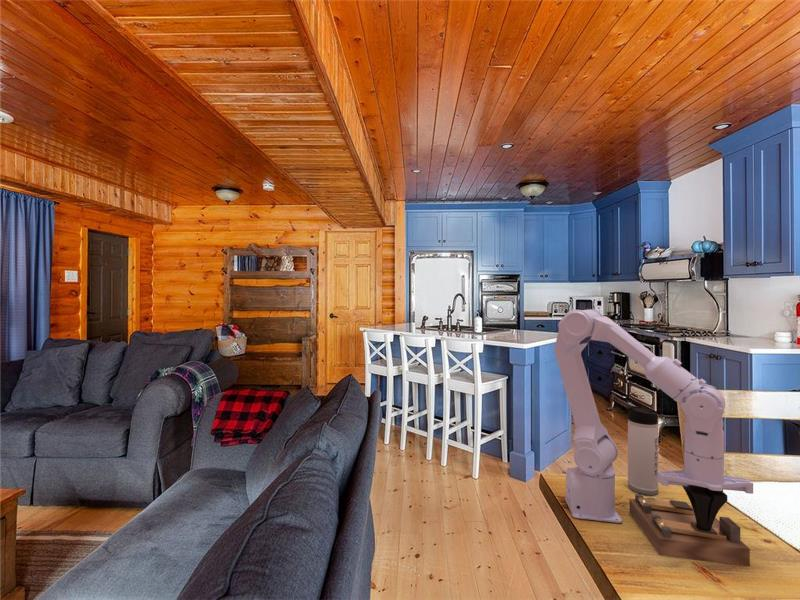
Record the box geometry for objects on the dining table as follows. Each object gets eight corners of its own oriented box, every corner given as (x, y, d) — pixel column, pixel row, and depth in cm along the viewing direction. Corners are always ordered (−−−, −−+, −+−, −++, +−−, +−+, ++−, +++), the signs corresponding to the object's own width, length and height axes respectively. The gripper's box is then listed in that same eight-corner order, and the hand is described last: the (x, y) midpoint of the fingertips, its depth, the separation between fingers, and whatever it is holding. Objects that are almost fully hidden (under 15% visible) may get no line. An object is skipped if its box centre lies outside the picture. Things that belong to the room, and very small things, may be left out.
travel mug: (622, 481, 96) (622, 403, 97) (651, 484, 95) (651, 404, 95) (632, 494, 90) (632, 410, 90) (663, 497, 89) (663, 411, 89)
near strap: (660, 530, 70) (661, 523, 70) (654, 522, 73) (654, 515, 73) (726, 541, 68) (727, 534, 68) (717, 533, 71) (718, 526, 71)
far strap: (642, 507, 78) (643, 501, 78) (637, 501, 81) (637, 494, 81) (700, 517, 76) (701, 510, 76) (693, 509, 78) (694, 503, 78)
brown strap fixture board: (659, 555, 69) (659, 522, 69) (629, 512, 82) (629, 486, 82) (749, 566, 66) (749, 532, 66) (703, 520, 80) (703, 492, 80)
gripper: (670, 458, 68) (670, 534, 67) (766, 465, 65) (766, 545, 65) (652, 443, 74) (652, 513, 74) (738, 449, 71) (738, 522, 71)
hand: (703, 526), depth 70 cm, fingers closed
